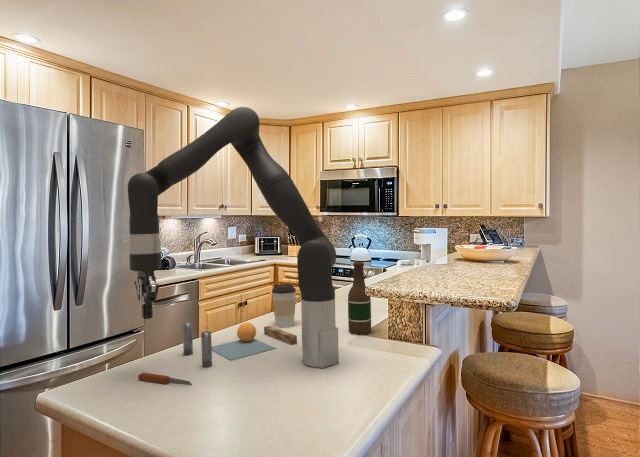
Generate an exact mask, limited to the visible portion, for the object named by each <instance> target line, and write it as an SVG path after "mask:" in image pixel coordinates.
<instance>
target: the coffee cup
mask: <svg viewBox="0 0 640 457" xmlns="http://www.w3.org/2000/svg"><path fill="white" fill-rule="evenodd" d="M296 292H297V290H296V287H294V284H287V283H285V284H278V283H277V284H274V288H272V289H271V293H272V306H273V315H274V321H275V326H276V327H277V328H291V327H294V325H295V314H296V302H297V297H296Z"/></svg>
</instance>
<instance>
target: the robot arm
mask: <svg viewBox="0 0 640 457" xmlns="http://www.w3.org/2000/svg"><path fill="white" fill-rule="evenodd" d="M230 144H231V146H232V147H233V148H234V150H235V151H236V152H237V154H238V155H239V157H240V158H241V159H242V161H244V163H245V165H246V166H247V168H248V169H249V172H250V174H251V176H252V178H253V180H254V182H255V183H256V186H257V188H258V189H259V191H260V193H261V195H262V196H263V198H264V200H265V201H266V203H267V205H268V206H269V208H270V210H271V211H272V212H273V214H275V216H277V218H278V219H279V220H280V221H282V223H283V224H284V225H285V226H286V227H287V228H288V229H289V230H290V232H291V233H292V234H293V236H294V237H295V239H296V241H297V243H298V244H299V247H300V248H299V249H298V253H297V260H296V261H297V262H296V263H297V264H296V265H297V281H298V282H297V283H298V289H299V292H300V304H301V305H300V306H301V308H300V309H301V311H300V312H301V348H302V350H301V352H302V363H303V364H304V365H305V366H308V367H313V368H319V369H323V368H324V369H325V368H327V367H330V366H333V365H335V364H339V363H340V356H339V352H340V350H339V327H337V326H336V291H335V290H336V289H335V287H334V285H333V274H332V273H333V271H332V268H333V266H334V265H335V263H336V261H337V251H336V248H335V246H334V244H333V243H332V242H331V241H330V239H329V238H328V237H327V235H326V234H325V233H324V232H323V230H322V229H321V227H320V226H319V225H318V223H317V222H316V220H315V219H314V217H313V215H312V213H311V211H310V209H309V207H308V205H307V204H306V201H305V200H304V198H303V196H302V195H301V193H300V192H299V189H298V187H297V186H296V184H295V183H294V181H293V180H292V178H291V176H290V175H289V174H288V172H287V171H286V169H284V168H283V167H282V165H280V164H279V163H278V161H276V160H275V159H273V157H272V156H271V155H270V154H269V152H268V150H267V148H266V147H265V145H264V143H263V140H262V138H261V136H260V118H259V115H258V114H257V112H256V111H255V110H253V109H252V108H251V107H247V106H240V107H236V108H234V109H232V110H231V111H229V112H228V113H227V114H226V115H224V116H223V117H222V118H221V119H220V120H219V121H218V122H217V123H215V124H214V125H213V126H211V127H210V128H209V129H207V130H206V131H205V132H203V134H201V135H200V136H199V137H197V138H196V139H194V140H192V141H191V142H190V143H188V144H187V145H185V146H184V147H182V148H180V149H178V150H177V151H175V152H173V153H172V154H170V155H168V156H166V157H165V158H163V159H162V160H161V161H160V162H158V163H157V165H155V166H154V167H153V168H150V169H149V170H147V171H145V172H139V173H136V174H133V175H132V176H131V177H130V179H128V182H127V196H128V207H129V220H128V221H129V225H128V226H129V241H128V250H129V252H128V253H129V254H128V255H129V257H128V258H129V270H130V271H131V272H137V277H136V278H135V280H134V286H135V290H136V295H137V300H138V301H139V303H140V305H141V318H142V319H144V320H149V319H152V318H153V304H154V303H156V301H157V296H158V292H159V288H160V285H159V284H158V283H157V277H156V275H155V271H157V270H160V269H161V268H162V249H161V248H162V246H161V244H162V243H161V238H160V237H161V236H160V218H159V213H158V209H159V208H158V207H159V205H158V204H159V196H160V195H161V194H163V193H164V192H166V191H167V190H169V189H170V188H171V187H172V186H174V185H176V184H178V183H180V182H182V181H184V180H185V179H187V178H189V177H191V176H192V175H193V174H195V173H196V172H198V171H199V170H200V169H201V168H202V167H204V166H205V165H206V164H207V163H208V162H209V161H210V160H211V158H213V157H214V156H215V155H216V154H217V153H218V152H219V151H220V150H222V149H223V148H225V147H226V146H228V145H230Z"/></svg>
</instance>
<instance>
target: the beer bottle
mask: <svg viewBox="0 0 640 457" xmlns="http://www.w3.org/2000/svg"><path fill="white" fill-rule="evenodd" d="M352 266H353V279H352V280H353V281H352V286H351V287H350V289H349V291H348V295H347V310H348V311H347V313H348V315H347V319H348V321H347V322H348V332H349V333H350V334H351V335H355V336H367V335H368V334H371V333H372V303H371V302H372V300H371V295H370V296H367V295H366V294H365V288H366V287H367V286H366V280H365V272H364V266H365V263H364V262H363V261H354V262H353V263H352Z"/></svg>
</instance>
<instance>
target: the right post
mask: <svg viewBox="0 0 640 457" xmlns="http://www.w3.org/2000/svg"><path fill="white" fill-rule="evenodd" d="M200 336H201V337H200V340H201V346H200V348H201V367H202V368H210V367H212V366H213V351H212V331H210V330H204V331H202V332H201V333H200Z"/></svg>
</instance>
